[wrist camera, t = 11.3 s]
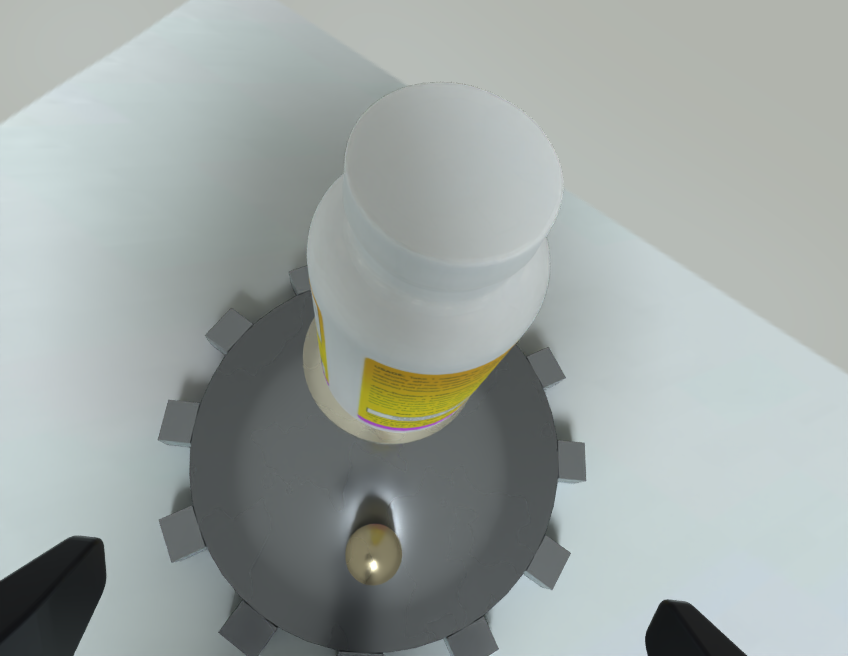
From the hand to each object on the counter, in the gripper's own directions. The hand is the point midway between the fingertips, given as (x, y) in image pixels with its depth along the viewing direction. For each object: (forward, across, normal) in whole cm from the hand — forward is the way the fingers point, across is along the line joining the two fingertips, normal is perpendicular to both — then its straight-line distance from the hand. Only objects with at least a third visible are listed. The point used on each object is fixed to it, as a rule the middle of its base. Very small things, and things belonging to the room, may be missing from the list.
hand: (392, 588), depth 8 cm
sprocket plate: (+13, 0, +6) cm, 14 cm away
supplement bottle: (+14, 0, +3) cm, 15 cm away
